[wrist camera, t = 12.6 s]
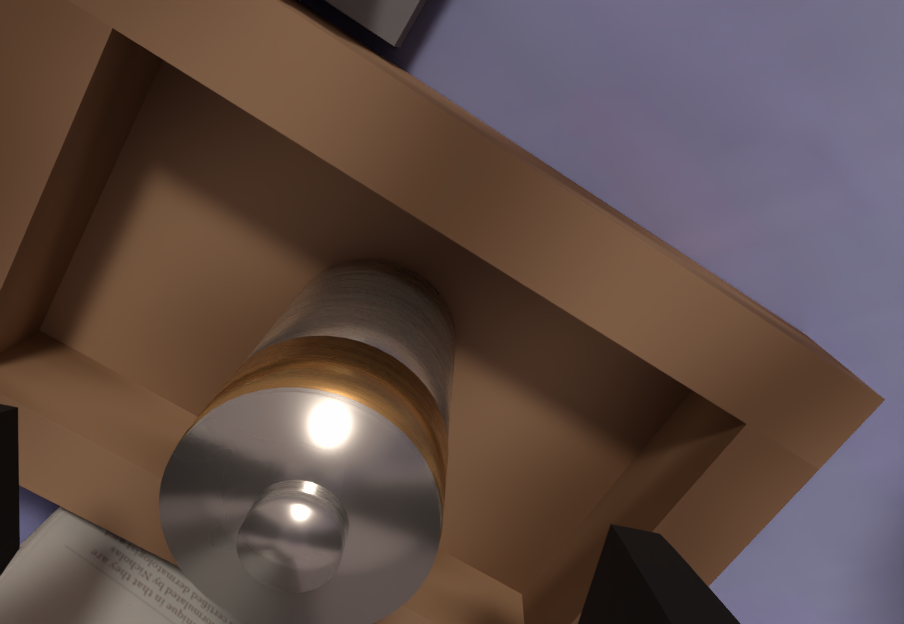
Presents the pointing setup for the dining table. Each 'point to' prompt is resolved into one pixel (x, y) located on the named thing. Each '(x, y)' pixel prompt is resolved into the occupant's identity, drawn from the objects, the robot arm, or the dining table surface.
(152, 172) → the trough
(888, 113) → the dining table surface
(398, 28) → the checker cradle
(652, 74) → the dining table surface
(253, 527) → the cell
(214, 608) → the supplement box
